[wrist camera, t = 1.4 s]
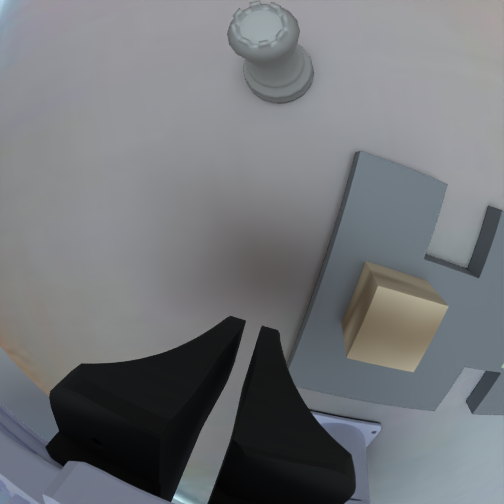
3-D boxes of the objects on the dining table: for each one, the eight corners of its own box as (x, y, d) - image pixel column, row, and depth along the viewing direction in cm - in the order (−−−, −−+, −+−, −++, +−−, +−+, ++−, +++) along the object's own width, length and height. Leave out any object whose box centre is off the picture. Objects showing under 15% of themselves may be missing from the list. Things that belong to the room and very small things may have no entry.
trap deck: (506, 403, 20) (512, 415, 19) (285, 367, 23) (283, 382, 21) (579, 260, 15) (591, 266, 13) (355, 152, 18) (360, 151, 16)
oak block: (399, 337, 19) (413, 372, 15) (341, 323, 19) (346, 357, 16) (426, 279, 17) (448, 306, 14) (365, 261, 18) (378, 285, 14)
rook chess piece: (313, 46, 16) (311, -16, 9) (313, 105, 18) (313, 68, 10) (247, 45, 17) (212, -11, 10) (245, 104, 19) (204, 70, 11)
